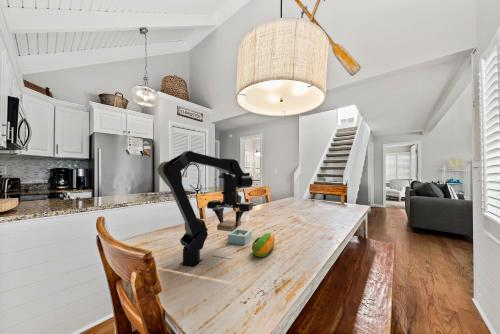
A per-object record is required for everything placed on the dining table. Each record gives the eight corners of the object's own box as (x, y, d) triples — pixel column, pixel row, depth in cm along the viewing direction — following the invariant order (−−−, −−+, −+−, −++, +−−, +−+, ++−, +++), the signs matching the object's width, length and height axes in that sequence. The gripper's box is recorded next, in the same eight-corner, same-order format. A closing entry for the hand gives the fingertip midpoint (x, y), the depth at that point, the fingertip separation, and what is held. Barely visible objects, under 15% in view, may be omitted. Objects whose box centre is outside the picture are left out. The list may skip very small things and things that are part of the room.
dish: (245, 246, 93) (245, 236, 93) (227, 244, 96) (227, 234, 96) (251, 239, 102) (251, 230, 102) (235, 237, 105) (235, 228, 105)
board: (231, 231, 81) (232, 226, 81) (217, 230, 83) (217, 225, 83) (240, 225, 90) (241, 220, 90) (227, 223, 92) (227, 219, 92)
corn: (248, 239, 80) (265, 226, 98) (246, 259, 80) (264, 242, 98) (266, 244, 77) (280, 229, 95) (264, 264, 77) (279, 245, 95)
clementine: (242, 241, 97) (242, 234, 97) (235, 240, 98) (235, 234, 98) (244, 239, 100) (244, 232, 100) (238, 238, 101) (238, 232, 101)
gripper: (256, 187, 91) (256, 223, 91) (218, 186, 97) (218, 219, 97) (248, 190, 81) (248, 230, 81) (206, 188, 86) (206, 225, 86)
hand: (229, 225), depth 86 cm, fingers closed on board, 6 cm apart
